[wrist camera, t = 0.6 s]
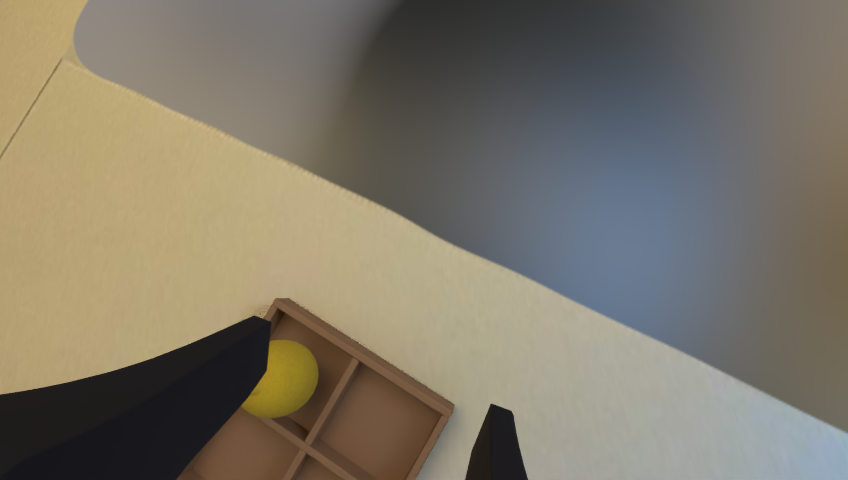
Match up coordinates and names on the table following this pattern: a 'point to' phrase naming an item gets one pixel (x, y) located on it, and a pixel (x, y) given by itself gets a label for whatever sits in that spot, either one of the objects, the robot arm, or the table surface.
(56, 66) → the table surface
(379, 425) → the divided wooden tray
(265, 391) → the lemon
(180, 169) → the table surface
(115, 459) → the robot arm
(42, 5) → the table surface
